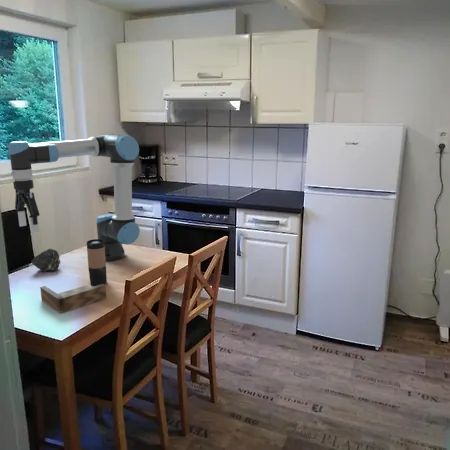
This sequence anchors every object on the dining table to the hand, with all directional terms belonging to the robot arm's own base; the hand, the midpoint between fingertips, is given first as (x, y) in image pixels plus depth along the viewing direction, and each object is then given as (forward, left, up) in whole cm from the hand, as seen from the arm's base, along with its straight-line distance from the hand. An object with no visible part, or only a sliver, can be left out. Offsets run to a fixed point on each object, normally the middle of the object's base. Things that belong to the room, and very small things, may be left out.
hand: (29, 228), depth 187 cm
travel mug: (-22, +15, -27) cm, 38 cm away
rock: (-13, -18, -27) cm, 35 cm away
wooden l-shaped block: (-6, +23, -27) cm, 36 cm away
